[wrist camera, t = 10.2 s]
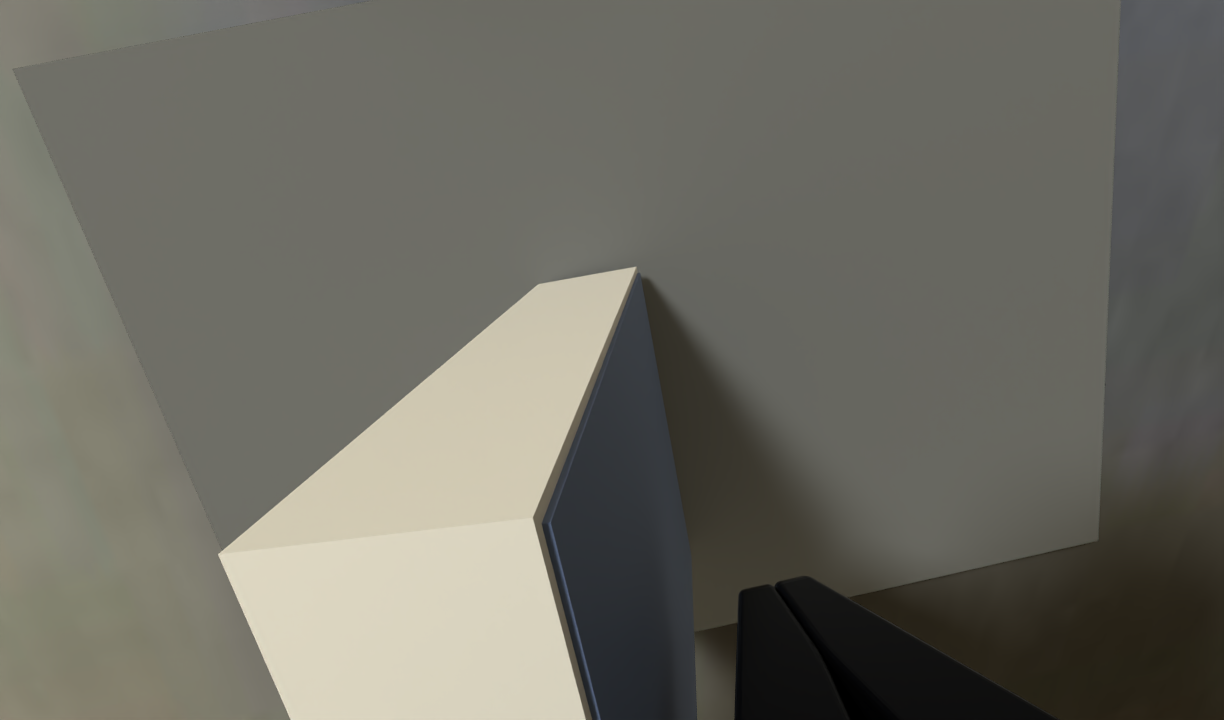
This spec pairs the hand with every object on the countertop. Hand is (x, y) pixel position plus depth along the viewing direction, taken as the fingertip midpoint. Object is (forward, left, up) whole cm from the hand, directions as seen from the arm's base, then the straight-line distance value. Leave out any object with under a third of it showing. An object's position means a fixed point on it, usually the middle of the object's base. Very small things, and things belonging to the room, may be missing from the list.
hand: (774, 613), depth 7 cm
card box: (+1, -1, -5) cm, 5 cm away
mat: (0, -2, -6) cm, 6 cm away
